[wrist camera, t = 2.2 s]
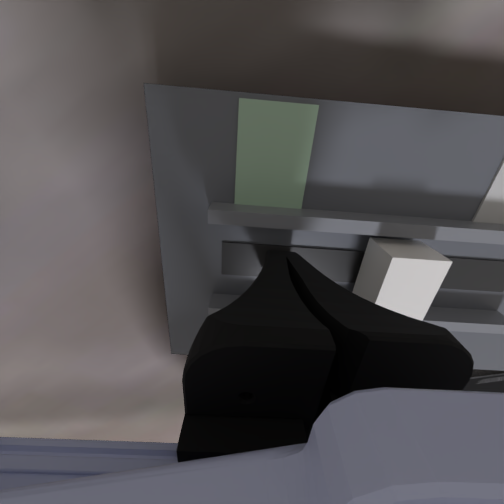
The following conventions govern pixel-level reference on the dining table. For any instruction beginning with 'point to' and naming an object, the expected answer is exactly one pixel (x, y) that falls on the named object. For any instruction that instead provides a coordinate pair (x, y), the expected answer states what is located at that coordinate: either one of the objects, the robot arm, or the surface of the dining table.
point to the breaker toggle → (401, 275)
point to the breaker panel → (325, 199)
